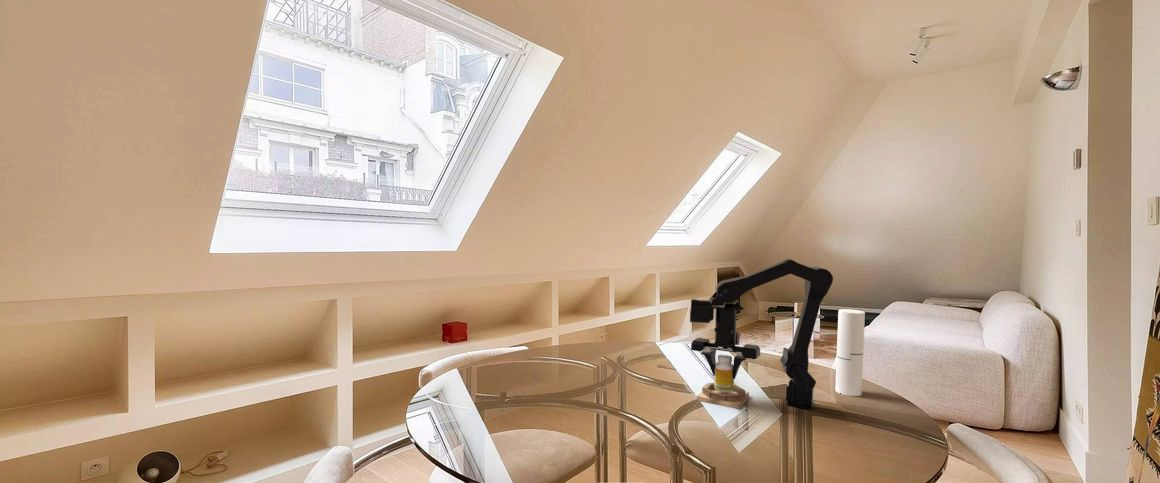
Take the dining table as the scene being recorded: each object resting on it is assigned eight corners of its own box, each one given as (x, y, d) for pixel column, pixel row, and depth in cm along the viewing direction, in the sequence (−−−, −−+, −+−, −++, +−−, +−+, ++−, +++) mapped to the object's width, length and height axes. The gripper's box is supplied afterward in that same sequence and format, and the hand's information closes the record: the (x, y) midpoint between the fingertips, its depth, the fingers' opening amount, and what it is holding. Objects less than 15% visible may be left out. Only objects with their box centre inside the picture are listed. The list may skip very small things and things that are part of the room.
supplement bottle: (735, 392, 147) (736, 359, 147) (715, 391, 148) (717, 358, 147) (731, 386, 153) (732, 354, 152) (712, 385, 153) (714, 353, 153)
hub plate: (749, 396, 152) (749, 387, 152) (739, 408, 142) (739, 399, 142) (709, 388, 159) (709, 380, 158) (696, 400, 148) (697, 391, 148)
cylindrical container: (864, 397, 154) (868, 313, 153) (839, 395, 155) (842, 312, 154) (857, 389, 161) (860, 309, 160) (832, 387, 162) (835, 308, 161)
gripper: (764, 323, 152) (763, 375, 152) (702, 316, 161) (701, 365, 162) (756, 329, 142) (755, 385, 143) (691, 322, 151) (689, 374, 152)
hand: (724, 377), depth 150 cm, fingers closed on supplement bottle, 5 cm apart
